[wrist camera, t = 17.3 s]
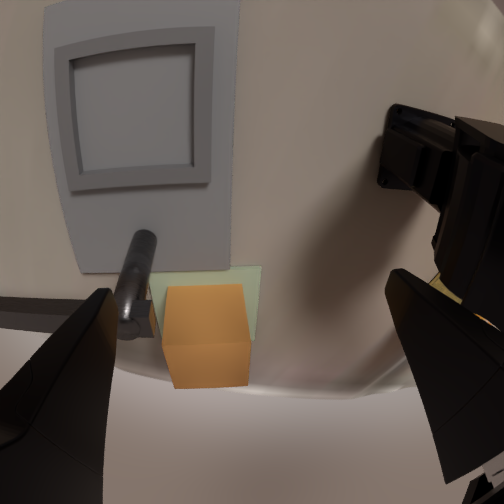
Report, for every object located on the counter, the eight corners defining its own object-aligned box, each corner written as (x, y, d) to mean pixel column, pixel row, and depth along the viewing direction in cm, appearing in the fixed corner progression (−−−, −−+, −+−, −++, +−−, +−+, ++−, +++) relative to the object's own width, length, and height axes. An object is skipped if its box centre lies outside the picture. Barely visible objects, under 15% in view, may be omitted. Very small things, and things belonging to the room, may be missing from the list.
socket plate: (239, -17, 12) (243, -24, 11) (229, 261, 24) (230, 276, 22) (51, 8, 11) (38, 6, 9) (84, 265, 22) (77, 279, 21)
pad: (260, 265, 24) (261, 268, 24) (254, 337, 30) (254, 340, 29) (147, 269, 23) (146, 272, 23) (163, 340, 28) (163, 343, 28)
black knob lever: (164, 224, 20) (146, 314, 13) (167, 254, 21) (155, 345, 15) (-35, 236, 17) (-83, 298, 11) (-26, 258, 19) (-68, 322, 12)
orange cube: (241, 283, 25) (251, 341, 20) (240, 331, 28) (247, 385, 23) (167, 286, 24) (161, 345, 19) (176, 334, 27) (174, 388, 23)
